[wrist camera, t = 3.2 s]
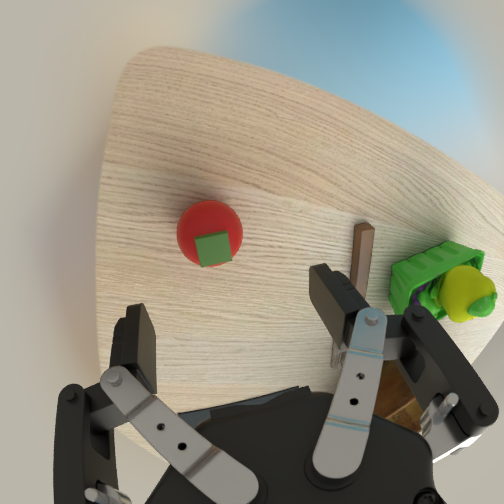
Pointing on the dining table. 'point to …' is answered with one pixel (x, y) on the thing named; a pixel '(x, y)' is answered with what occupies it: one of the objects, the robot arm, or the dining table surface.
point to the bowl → (397, 399)
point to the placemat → (201, 415)
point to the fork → (358, 272)
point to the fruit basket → (444, 283)
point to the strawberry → (209, 233)
